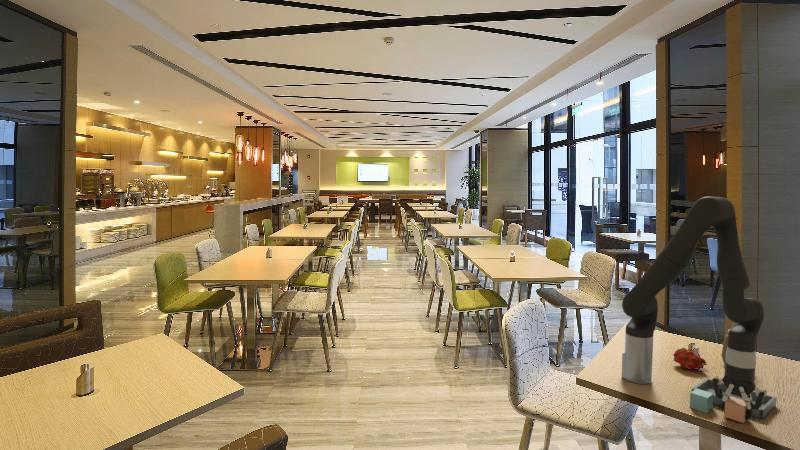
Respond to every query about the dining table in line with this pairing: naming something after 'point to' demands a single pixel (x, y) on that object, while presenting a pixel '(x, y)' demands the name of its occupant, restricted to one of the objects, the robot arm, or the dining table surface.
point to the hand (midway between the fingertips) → (736, 415)
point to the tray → (761, 413)
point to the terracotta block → (735, 409)
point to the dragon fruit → (688, 359)
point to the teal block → (701, 400)
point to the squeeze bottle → (726, 344)
